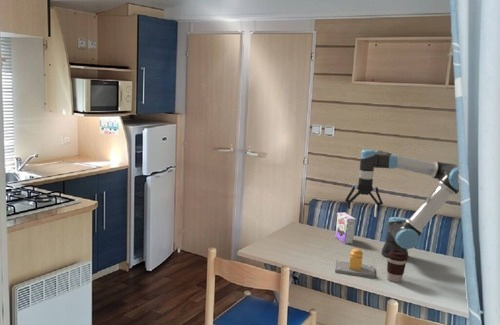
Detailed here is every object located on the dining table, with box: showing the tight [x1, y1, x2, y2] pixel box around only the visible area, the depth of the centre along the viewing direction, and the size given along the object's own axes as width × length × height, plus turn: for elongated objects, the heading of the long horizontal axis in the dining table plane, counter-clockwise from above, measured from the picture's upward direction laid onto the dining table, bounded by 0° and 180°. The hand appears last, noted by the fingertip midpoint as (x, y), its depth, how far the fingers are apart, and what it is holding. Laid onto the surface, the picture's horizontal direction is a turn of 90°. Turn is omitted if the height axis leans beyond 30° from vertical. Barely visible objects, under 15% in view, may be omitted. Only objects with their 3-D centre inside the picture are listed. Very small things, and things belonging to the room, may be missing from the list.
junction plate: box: [334, 260, 376, 279], centre depth 258 cm, size 20×14×8 cm
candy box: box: [334, 212, 356, 245], centre depth 307 cm, size 14×6×16 cm, turn 17°
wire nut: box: [349, 248, 364, 271], centre depth 257 cm, size 6×6×10 cm
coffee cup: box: [386, 250, 409, 283], centre depth 248 cm, size 10×10×15 cm
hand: (362, 215), depth 270 cm, fingers open, 13 cm apart
